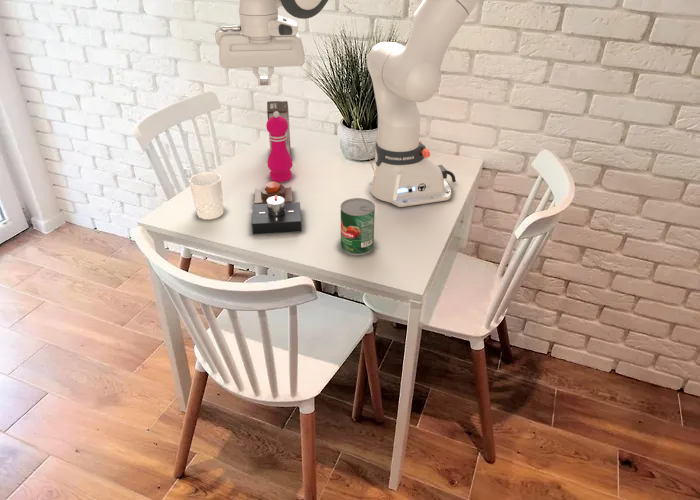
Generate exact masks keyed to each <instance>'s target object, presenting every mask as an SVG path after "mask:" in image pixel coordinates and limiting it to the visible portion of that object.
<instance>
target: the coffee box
mask: <svg viewBox="0 0 700 500" xmlns="http://www.w3.org/2000/svg"><path fill="white" fill-rule="evenodd" d="M288 103H289V102H288V100H283V101H282V100H274V101H273V100H271V101H267V102H266V110H267V111H266V113H267V114H266V115H267V121H268V120H269V119H270V118H271V117H273V113H274V112H275V111H277V112H279V114H280V116H281V117H283V118H285V119H286V121H287V123H288V129H287V131H286V133H287V139H286V148H287V150H288V152H289V154H290V156H291V157H292V153H291V152H292V151H291V149H292V148H291V147H292V146H291V129H290V114H289V113H290V112H289V104H288ZM269 134H270V133H269V132H268V135H269ZM268 140H269V151H270V152H271V140H270V139H269V138H268ZM270 152H269V153H270Z"/></svg>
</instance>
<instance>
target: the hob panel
mask: <svg viewBox="0 0 700 500" xmlns="http://www.w3.org/2000/svg"><path fill="white" fill-rule="evenodd" d="M301 215H302V214H301V202H300V201H294V202H293V201H292V202H290V203H285V214H284V215H282V216H278V217H274V216H270V215H269V214H268V209H267V204H254V203H253V205H252V217H251V218H252V219H251V229H252V234H253V235H263V234H281V233H282V234H283V233H299V232H300V233H301V232H303V231H302V216H301Z"/></svg>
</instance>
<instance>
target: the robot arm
mask: <svg viewBox="0 0 700 500" xmlns="http://www.w3.org/2000/svg"><path fill="white" fill-rule="evenodd" d="M478 1H479V0H422V1H421V3H420V4H419V5H418V7H417V9H416V10H415V11H414V13H413V15H412V19H411V23H412V28H411V32H410V34H409V37H408V40H407V42H406V44H405V45H403V44H401V43H399V42H396V41H381V42H378V43H377V44H375V45H373V47H372V48H371V49H370V51H369V52H368V54H367V58H366V68H367V71H368V72H369V75H370V78H371V82H372V87H373V93H374V99H375V104H376V111H377V141H376V143H375V148H374V162H375V169H374V175H373V178H372V183H371V185H370V188H369V191H370V194H371V195H372V196H374V198H376V199H377V200H380V201H382V202H386V203H390V204H392V205H394V206H395V207H397V208H404V207H411V206H417V205H424V204H430V203H431V204H432V203H437V202H438V203H439V202H444V201H449V200H450V199H451V197H452V189H451V186H450V185H449V183H448V182H447V181H446V180H445V179H448V175H449V176H450V177H451V181H452V183H456V181H457V180H456V176H455V174H454V173H453V172H452V171H450V170H448V169H447V168H446V167H445V166H444V165H442V164H437V163H436V162H435V161H433V160H432V159H430V156H431V152H430V150H429V149H428V148H426V145H425V144H423V142H422V141H421V140H420V133H421V132H420V131H421V113H420V110H419V108H418V105H417V103H424V102H427V101H430V100H431V99H432V98H433V97H434V96H435V95H436V94H437V93H438V91H439V89H440V86H441V82H442V81H441V80H442V76H441V68H442V63H443V60H444V58H445V55H446V52H447V50H448V47H449V46H450V44H451V42H452V40H453V39H454V37H456V34H458V31H460V29H461V27H462V26H463V24H464V23H465V21H466V20H467V19H468V17H469V15H470V14H471V13H472V11H473V10H474V8H475V6H476V5H477V3H478ZM328 2H329V0H239V7H238V14H239V15H238V16H239V25H231V26H230V25H229V26H228V25H223V26H220V27H219V28H217V29H216V30H215V34H214V37H215V42H216V44H217V46H219V47H218V61H219V65H220V67H222V68H223V69H245V68H246V69H249V68H251V70H252V73H253V75H254V76H255V78H256V79H257V83H258V84H257V85H258V86H259V87H260V86H271V78H272V76H273V74H274V72H275V68H283V67H285V68H286V67H287V68H289V67H303V66H304V64H305V63H306V60H305V58H306V57H305V50H304V44H303V40H302V37H301V35H300V34H299V32H298V31H299V25H298V23H297V21H296V20H294V19H291V18H288V17H284V16H281V15H279V8H280V7H283V9H284V10H285V11H286V12H287V13H288V14H289V15H291V16H292V17H294V18H296V19H302V20H306V19H311V18H313V17H316V16H317V15H318V14H319V13H320V12H321V11H322V10H323V9H324V8H325V6H326V5H327V4H328ZM259 68H267V71H268V74H267V76H261V74H260V73H259V71H260V69H259Z"/></svg>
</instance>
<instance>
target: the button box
mask: <svg viewBox="0 0 700 500" xmlns="http://www.w3.org/2000/svg"><path fill="white" fill-rule="evenodd" d="M279 187H280V191H279V192H275V193H269V192H267V191H266V184H265V185H263V186H262V187H260V188H255V190H254V201H253V204H267V199H268V198H270V197H273V196H275V195H277V196H280V197H283V198H284V200H285V203H290V202H293V188H292V187H285V186H284V185H283V184H280V183H279Z"/></svg>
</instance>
